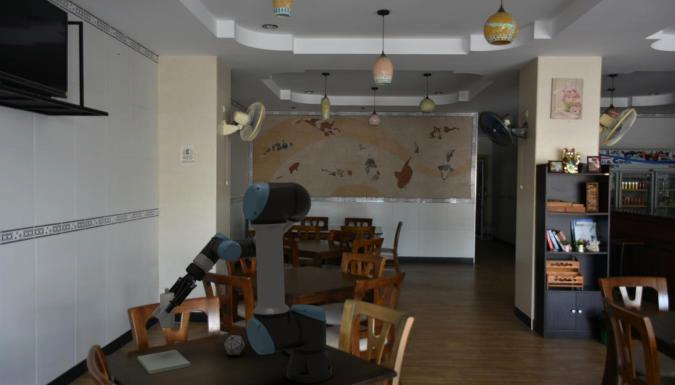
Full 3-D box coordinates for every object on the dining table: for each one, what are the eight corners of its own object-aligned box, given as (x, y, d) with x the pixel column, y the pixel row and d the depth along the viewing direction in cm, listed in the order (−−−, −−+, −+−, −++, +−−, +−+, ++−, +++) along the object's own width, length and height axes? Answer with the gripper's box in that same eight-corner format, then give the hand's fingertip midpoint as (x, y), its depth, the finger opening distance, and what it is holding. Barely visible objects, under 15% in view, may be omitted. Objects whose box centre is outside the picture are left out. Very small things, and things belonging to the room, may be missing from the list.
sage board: (190, 366, 185) (189, 362, 185) (149, 374, 178) (149, 370, 178) (175, 352, 200) (175, 349, 200) (137, 359, 193) (137, 356, 193)
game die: (235, 367, 195) (229, 350, 188) (221, 354, 199) (214, 338, 193) (253, 350, 200) (248, 334, 193) (238, 339, 204) (233, 323, 198)
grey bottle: (176, 326, 192) (175, 288, 191) (162, 329, 189) (161, 290, 189) (172, 323, 196) (171, 286, 196) (159, 325, 193) (158, 288, 193)
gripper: (215, 277, 194) (173, 329, 184) (197, 271, 209) (156, 319, 199) (201, 264, 191) (157, 316, 181) (183, 259, 205) (142, 307, 196)
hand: (157, 317), depth 190 cm, fingers closed on grey bottle, 5 cm apart
